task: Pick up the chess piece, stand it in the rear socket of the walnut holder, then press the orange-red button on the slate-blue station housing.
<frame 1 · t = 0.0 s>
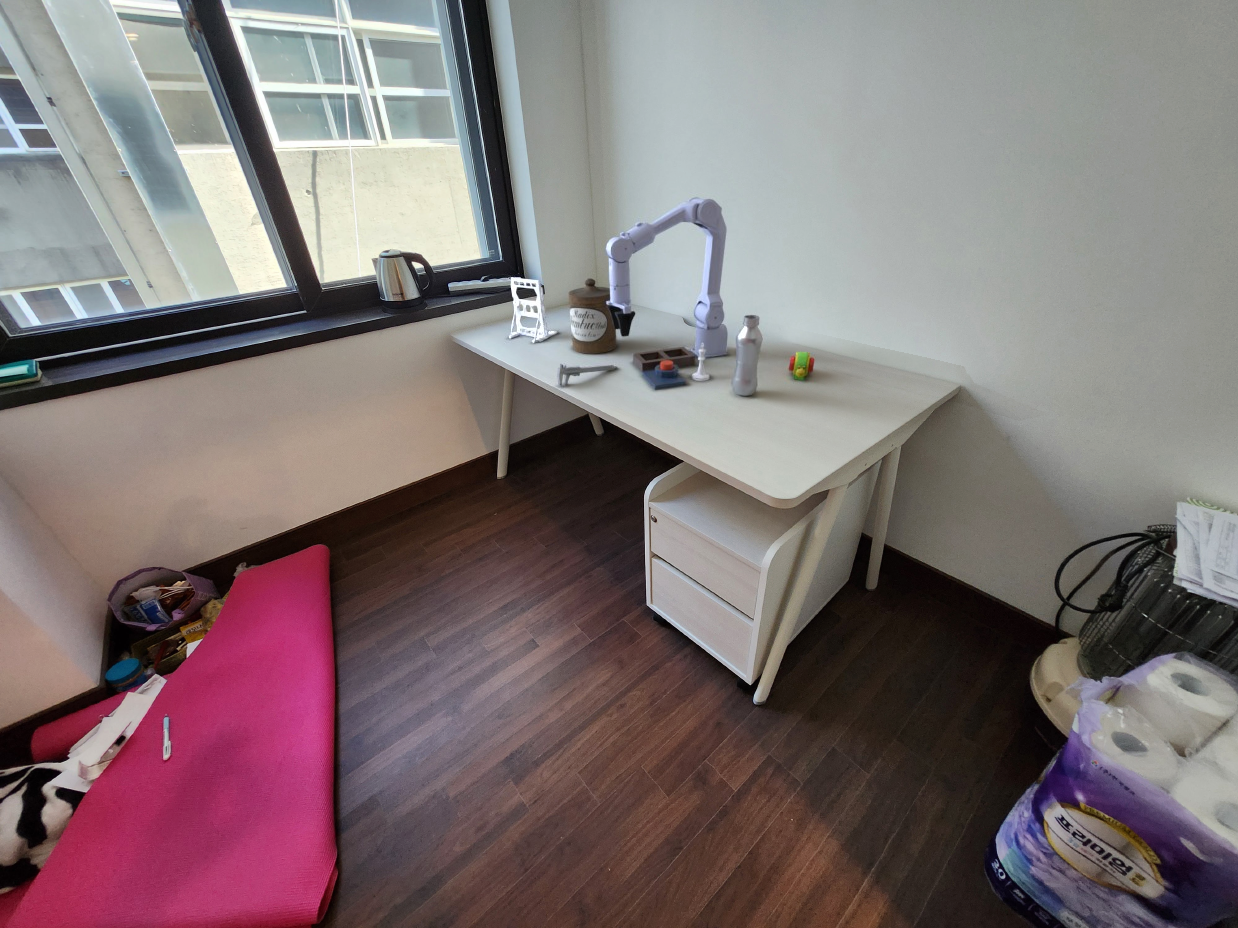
hand: (621, 332, 142), 10 cm above the table, tool pointing down, fingers open, 7 cm apart
wooden container: (594, 347, 163), on the table
station button: (666, 365, 136), point 4 cm above the table, slide at 0.1 cm
holder: (663, 364, 147), on the table
station: (663, 380, 136), on the table
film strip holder: (534, 336, 177), on the table
caliper: (588, 377, 140), on the table
chess piece: (700, 378, 137), on the table
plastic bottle: (743, 394, 127), on the table
green wheeled toy: (800, 370, 139), on the table
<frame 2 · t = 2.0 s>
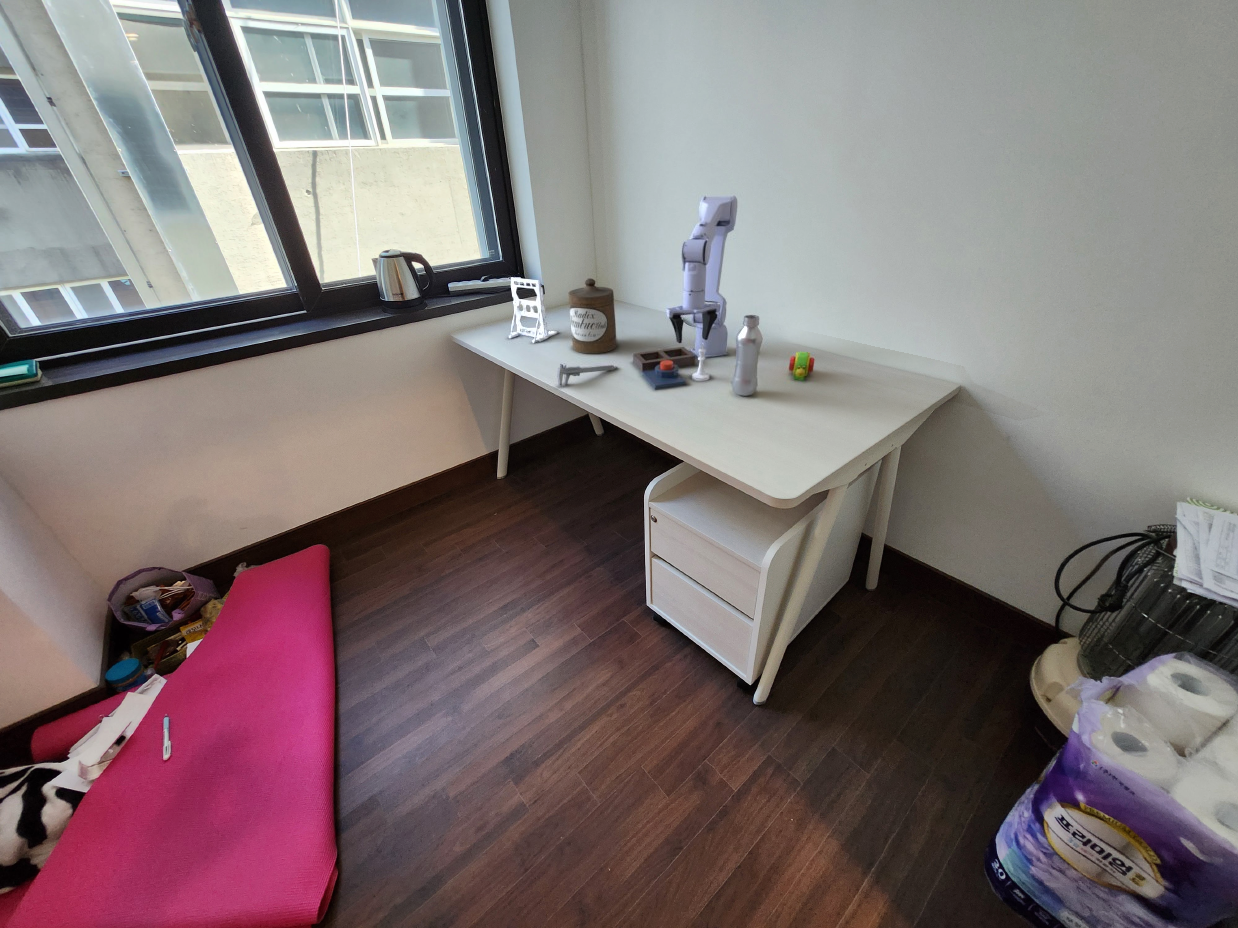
hand: (692, 340, 133), 10 cm above the table, tool pointing down, fingers open, 7 cm apart
nothing on the table moved.
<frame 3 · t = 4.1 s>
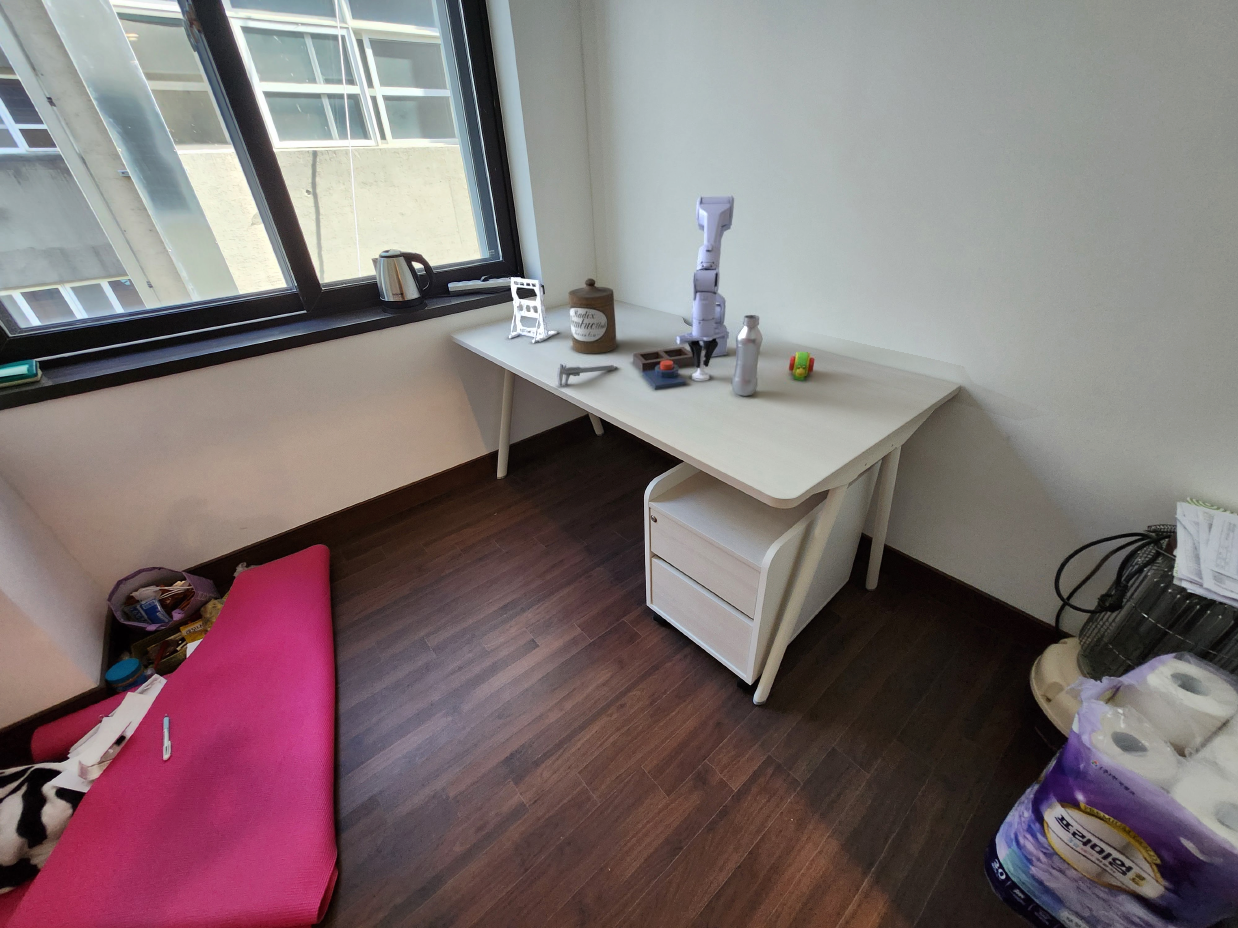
hand: (701, 366, 135), 3 cm above the table, tool pointing down, fingers closed on chess piece
chess piece: (700, 378, 137), on the table, touching gripper
everything else where it was.
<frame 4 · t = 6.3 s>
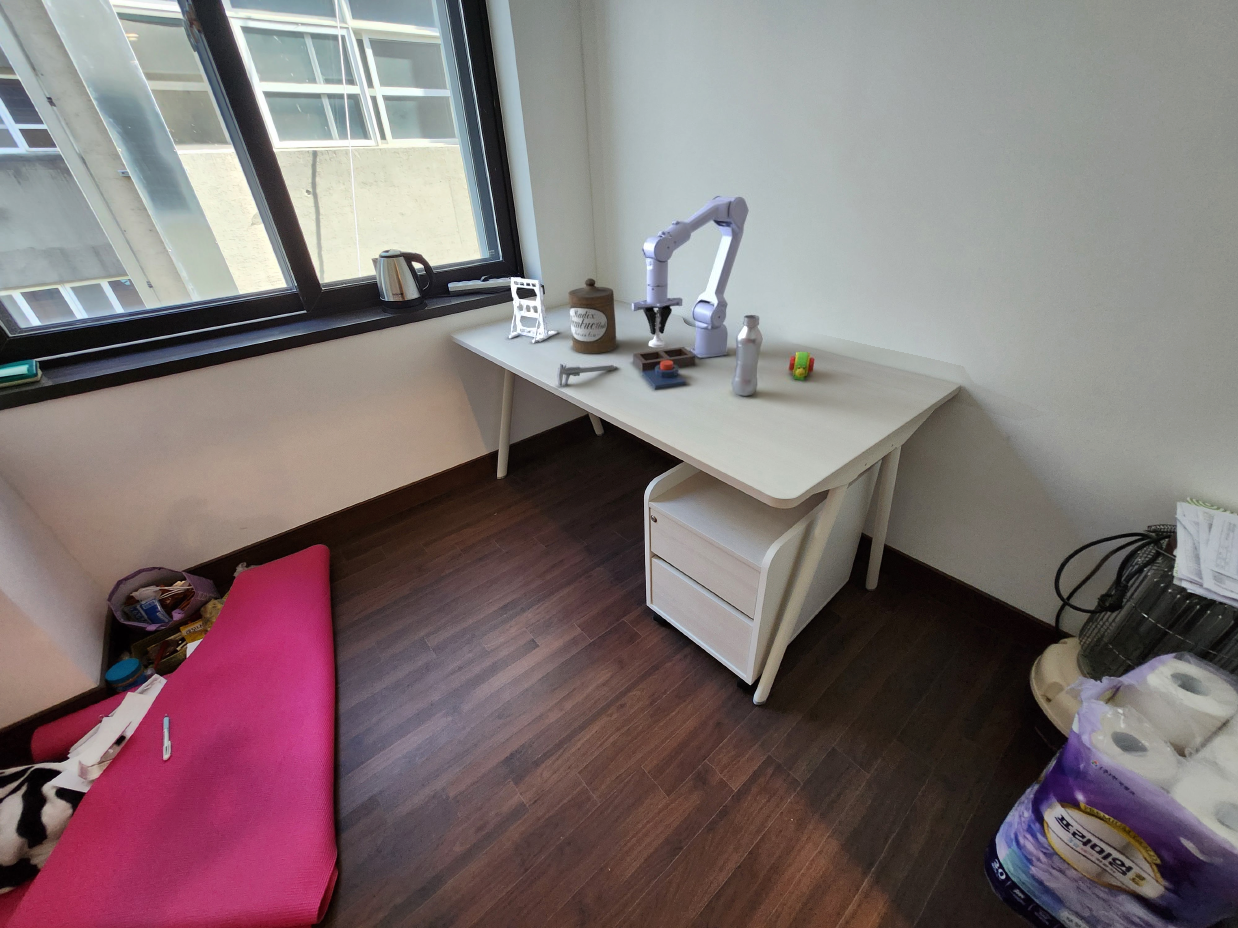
hand: (657, 333, 140), 10 cm above the table, tool pointing down, fingers closed on chess piece
chess piece: (656, 345, 142), point 7 cm above the table, touching gripper
everything else where it was.
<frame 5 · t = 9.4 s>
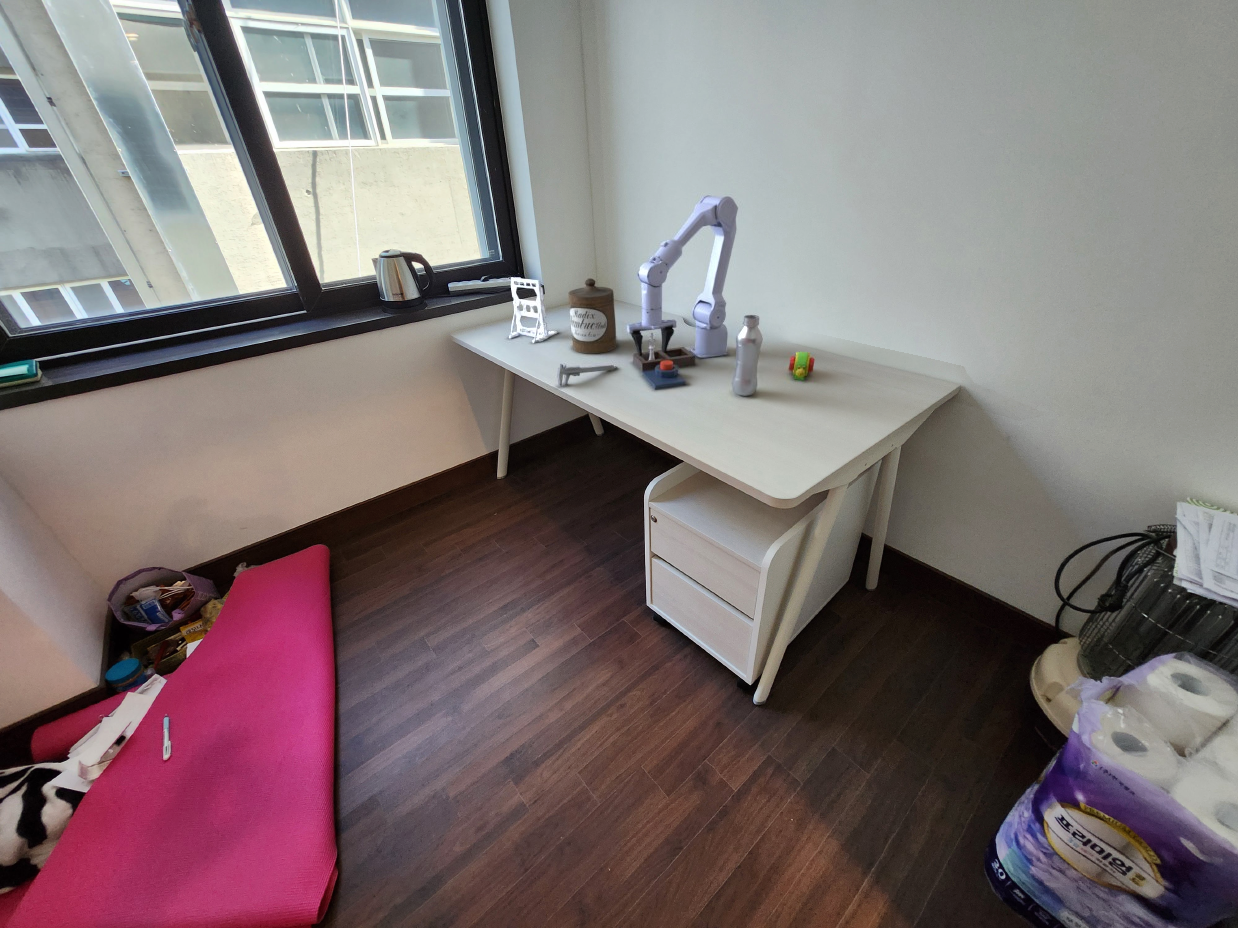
hand: (651, 353, 144), 4 cm above the table, tool pointing down, fingers open, 7 cm apart
chess piece: (651, 366, 146), resting in holder
everything else where it was.
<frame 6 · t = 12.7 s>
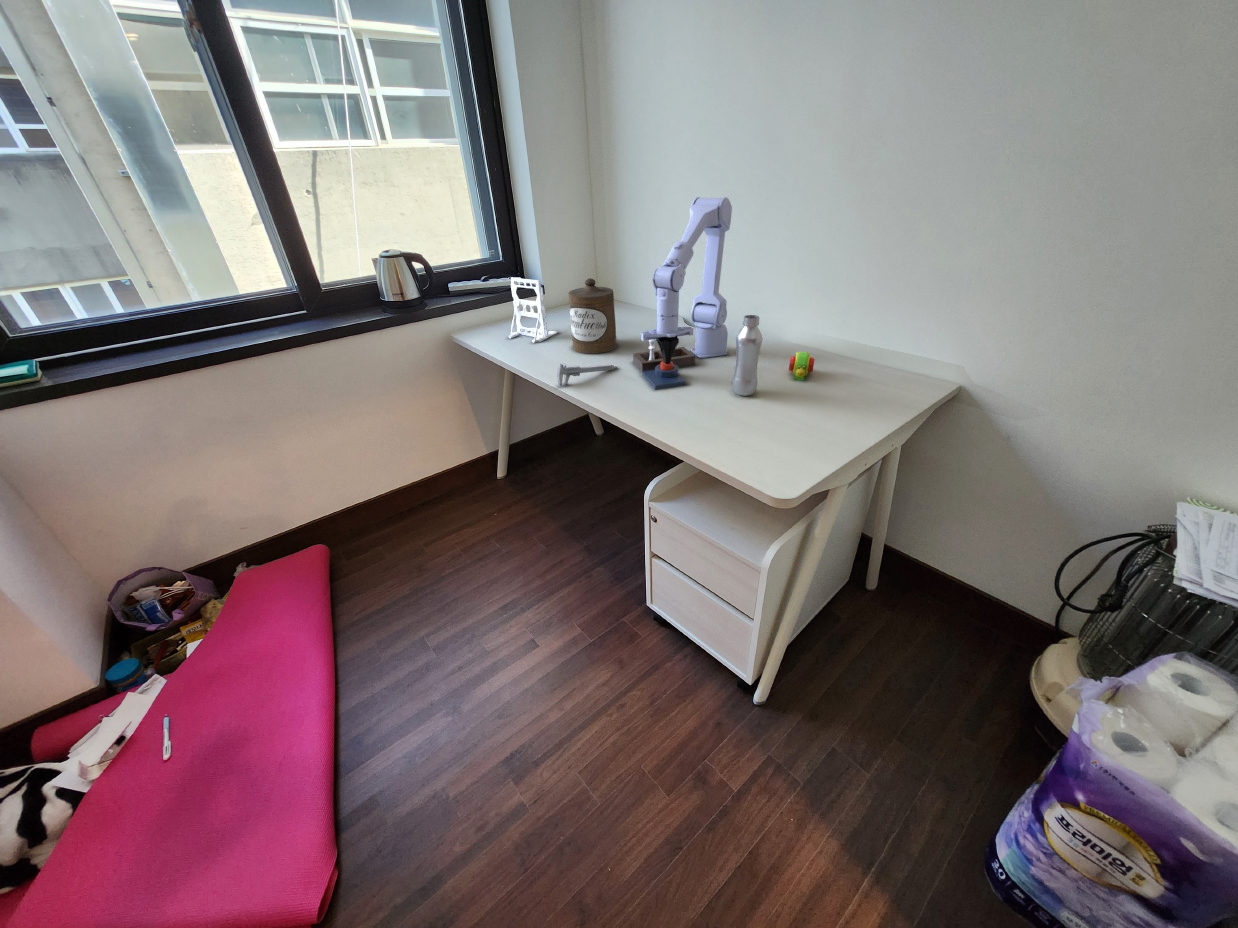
hand: (666, 362, 135), 4 cm above the table, tool pointing down, fingers closed, pressing on station button
station button: (666, 366, 136), point 3 cm above the table, slide at 0.0 cm, touching gripper
everything else where it was.
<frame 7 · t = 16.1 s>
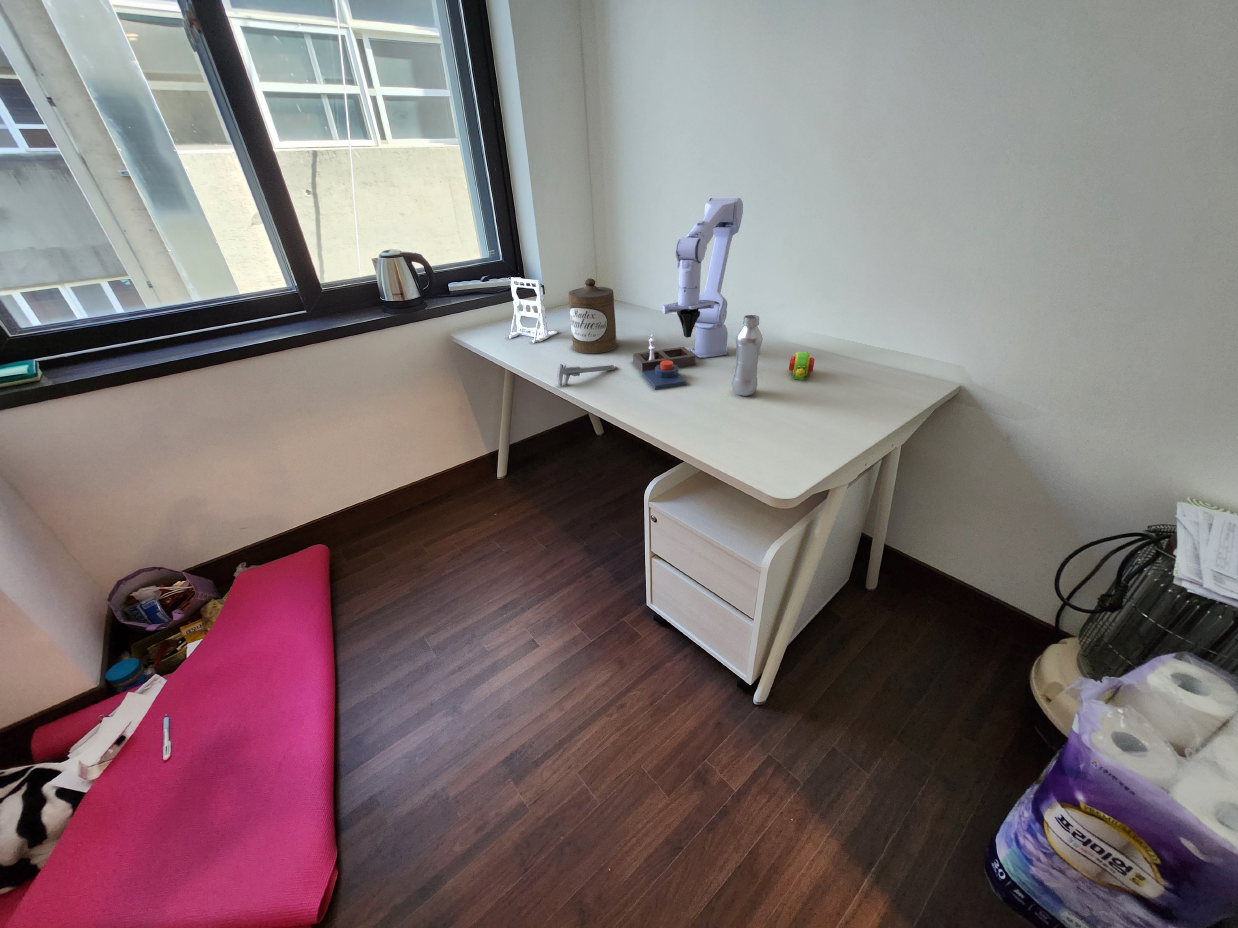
hand: (687, 336, 136), 10 cm above the table, tool pointing down, fingers closed
station button: (666, 365, 136), point 4 cm above the table, slide at 0.1 cm
everything else where it was.
at the end: chess piece 0.0 cm from the target spot in the holder, point 0.0 cm above the holder's base; station button pushed in 1.2 cm at the most during the clip, back to where it started at the end; station button slide at 0.1 cm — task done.
